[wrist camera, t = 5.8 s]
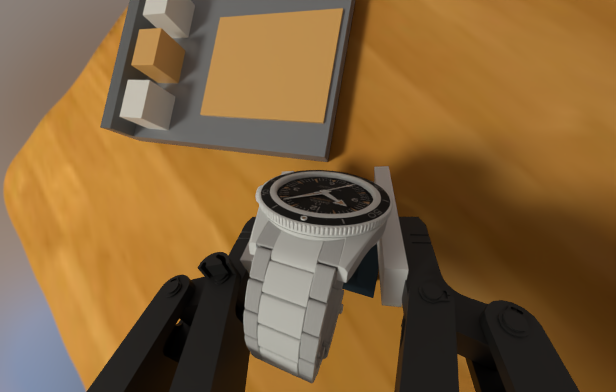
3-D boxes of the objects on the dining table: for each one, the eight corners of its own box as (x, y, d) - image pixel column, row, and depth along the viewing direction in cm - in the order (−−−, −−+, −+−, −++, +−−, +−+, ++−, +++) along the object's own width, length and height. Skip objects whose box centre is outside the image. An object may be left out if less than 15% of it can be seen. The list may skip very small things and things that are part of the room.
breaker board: (355, -2, 18) (353, -61, 14) (327, 162, 17) (317, 145, 13) (167, 14, 23) (128, -26, 19) (139, 140, 22) (93, 124, 19)
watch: (388, 196, 16) (425, 149, 5) (368, 307, 15) (362, 500, 5) (315, 184, 17) (231, 129, 7) (295, 284, 17) (172, 389, 6)
